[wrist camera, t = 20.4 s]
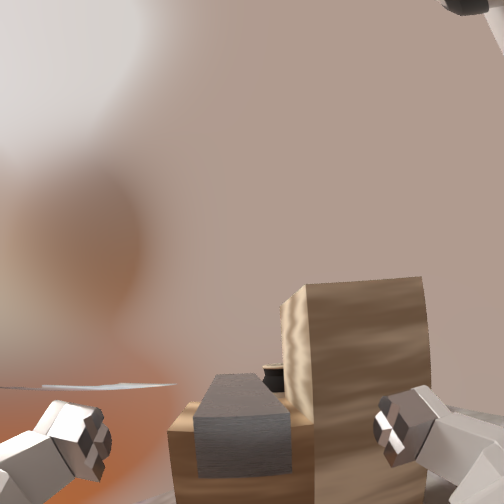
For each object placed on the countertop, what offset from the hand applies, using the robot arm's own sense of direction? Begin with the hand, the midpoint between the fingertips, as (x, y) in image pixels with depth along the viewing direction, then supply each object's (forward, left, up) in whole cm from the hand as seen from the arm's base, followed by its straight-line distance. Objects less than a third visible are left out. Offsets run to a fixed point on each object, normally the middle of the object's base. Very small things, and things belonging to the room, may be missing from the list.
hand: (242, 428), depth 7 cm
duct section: (-6, -13, -4) cm, 15 cm away
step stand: (-12, -15, -20) cm, 27 cm away
